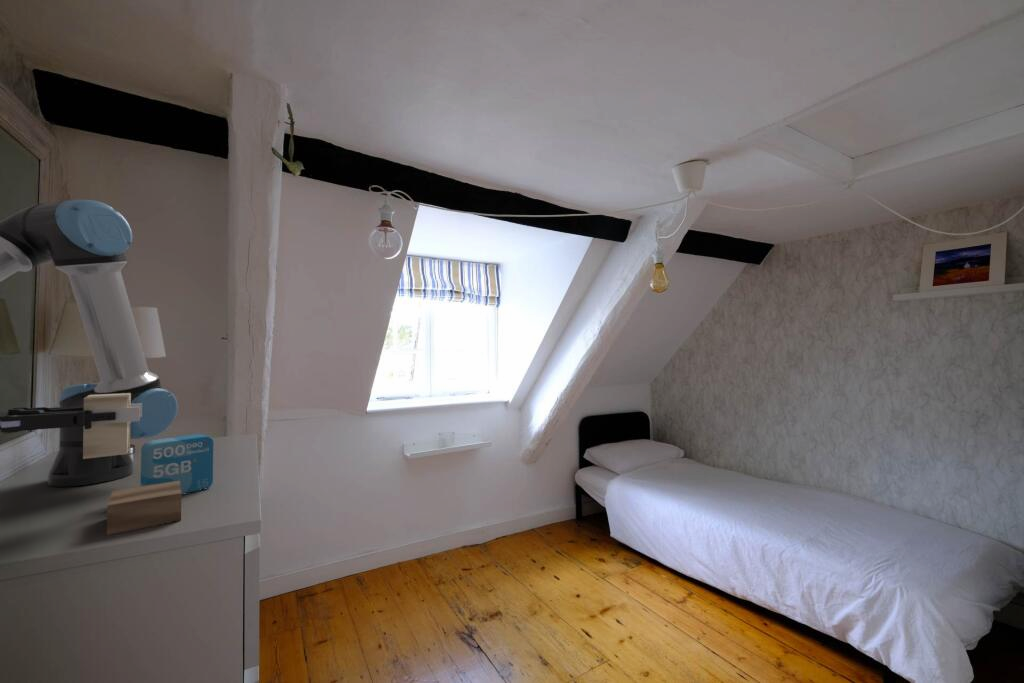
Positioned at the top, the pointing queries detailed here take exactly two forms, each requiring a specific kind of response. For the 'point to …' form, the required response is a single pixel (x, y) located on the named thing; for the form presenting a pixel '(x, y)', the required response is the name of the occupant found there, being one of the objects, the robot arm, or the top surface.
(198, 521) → the top surface
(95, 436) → the birch block
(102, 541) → the top surface
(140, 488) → the block
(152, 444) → the data package
